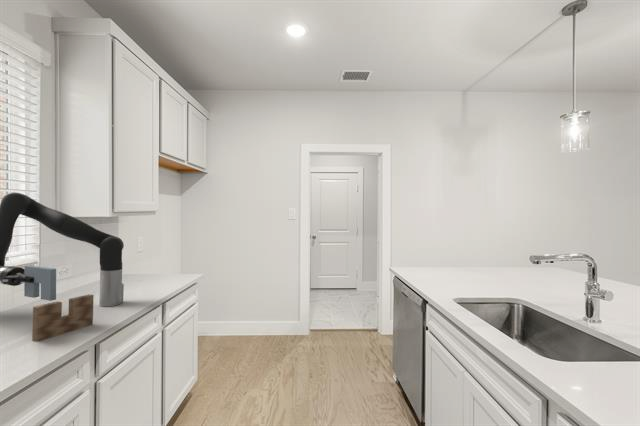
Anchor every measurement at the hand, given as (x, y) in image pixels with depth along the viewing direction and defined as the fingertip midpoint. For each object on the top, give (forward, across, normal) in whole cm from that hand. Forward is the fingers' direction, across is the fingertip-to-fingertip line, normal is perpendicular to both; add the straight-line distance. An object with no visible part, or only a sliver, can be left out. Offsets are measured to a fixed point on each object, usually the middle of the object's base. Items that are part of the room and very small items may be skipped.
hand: (36, 279), depth 132 cm
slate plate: (+2, 0, +7) cm, 7 cm away
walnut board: (+16, +1, +19) cm, 24 cm away
